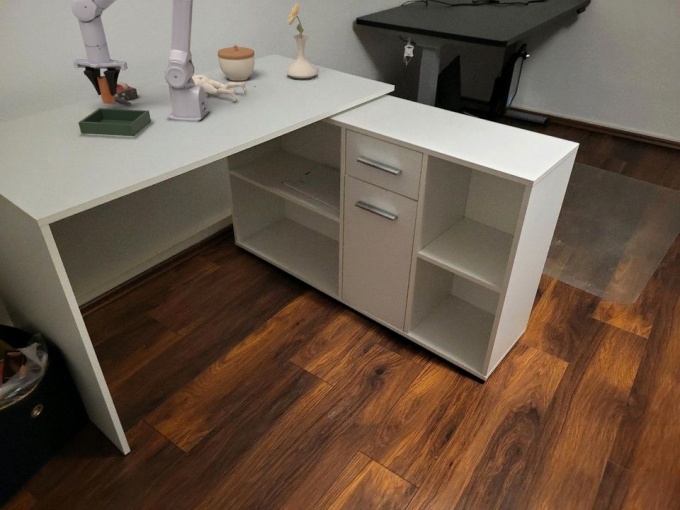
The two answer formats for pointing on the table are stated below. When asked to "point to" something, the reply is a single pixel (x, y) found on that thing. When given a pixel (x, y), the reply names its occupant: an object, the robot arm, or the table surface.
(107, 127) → the basket
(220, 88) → the superhero figure
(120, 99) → the walkie-talkie
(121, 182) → the table surface
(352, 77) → the table surface
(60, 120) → the table surface
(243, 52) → the dishware bowl
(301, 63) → the flower in vase
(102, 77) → the tube
